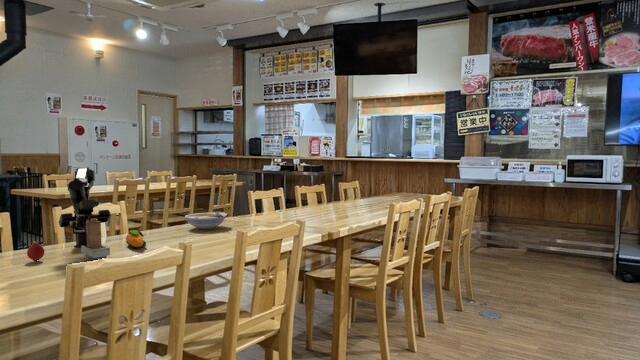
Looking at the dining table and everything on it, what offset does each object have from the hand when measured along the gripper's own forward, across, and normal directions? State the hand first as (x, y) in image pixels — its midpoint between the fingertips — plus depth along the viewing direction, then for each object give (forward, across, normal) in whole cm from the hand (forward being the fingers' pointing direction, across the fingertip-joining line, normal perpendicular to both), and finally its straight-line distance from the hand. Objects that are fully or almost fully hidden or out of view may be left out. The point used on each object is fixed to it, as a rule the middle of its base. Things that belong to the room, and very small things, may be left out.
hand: (91, 234), depth 186 cm
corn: (+3, +21, +11) cm, 24 cm away
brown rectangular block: (+6, 0, +2) cm, 6 cm away
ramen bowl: (-12, +69, +26) cm, 75 cm away
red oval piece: (0, -18, +13) cm, 22 cm away
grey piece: (+9, 0, +4) cm, 10 cm away
